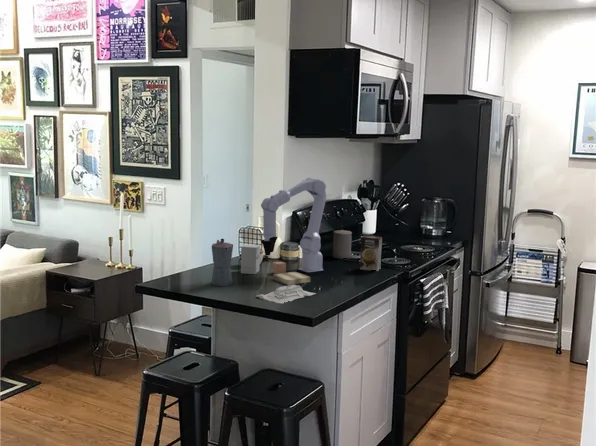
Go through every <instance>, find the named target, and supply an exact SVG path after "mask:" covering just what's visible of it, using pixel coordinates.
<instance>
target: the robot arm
mask: <svg viewBox="0 0 596 446" xmlns="http://www.w3.org/2000/svg"><path fill="white" fill-rule="evenodd" d="M326 187H327V185H326V182H325V181H323V180H322V179H320V178H319V179H318V178H312V177H308V178H306V179H303V180H302V181H300V182H299V183H297V184H296V185H294V186H293V187H290V189H288V190H284V189H280V190H279V191H278V192H277V193H276V194H272V195H270V197H265V198H264V199H263V200H262V202H261V204H260V207H261V208H262V212H263V215H262V216H263V217H262V218H263V227H262V228H263V230H262V231H263V232H262V233H260V236H262V237H264V238H263V239H261V240H260V241H261V245H262V247H263V252H264V255H265V256H268V257H269V256H271V254H272V253H274V251H275V245H276V242H277V240H278V236H277V233H276V232H277V211H278V210H279V208H280V207H281V206H283V205H285V204H287V203H288V202H290V200H291V198H292V197H294V196H297V195H298V194H300V193H303V192H306V191H307V192H308V193H309V194H310V195H311V196H312V198H313V204H312V208H311V212H310V215H309V216H310V217H309V222H308V225H307V230H306V231H305V232H304V233H303V234H302V235H303V236H302V237H301V239H300V242H299V247H300V248H301V250H302V256H301V257H302V258H301V260H302V262H301V267H299V268H298V270H300V271H302V272H305V273H315V272H321V271H324V268H323V261H324V260H323V254H322V253H321V251H320V250H321V247H322V246H321V245H322V244H321V236H320V234H319V232H320V227H321V224H322V218H323V214H324V209H325V206H326V201H327V193H326V192H327V191H326Z"/></svg>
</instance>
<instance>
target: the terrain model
mask: <svg viewBox="0 0 596 446" xmlns="http://www.w3.org/2000/svg"><path fill="white" fill-rule="evenodd" d="M313 295H317V293H316V292H310V291H307V290H303V288H302V286H301V285H299V284H292V285H282V286H280V287H277V288H276V289H275V291H271V292H269V293H267V294H257V295H255V296H256V298H259V299H260V300H264V301H269V302H271V303H276V304H285V303H288V301H290V302H292V301H294V300H298V299H301V298H305V297H311V296H313ZM284 302H285V303H284Z"/></svg>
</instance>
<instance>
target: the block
mask: <svg viewBox="0 0 596 446" xmlns="http://www.w3.org/2000/svg"><path fill="white" fill-rule="evenodd" d="M281 273H287V263H286V262H284V261H273V262H272V274H281Z"/></svg>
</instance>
